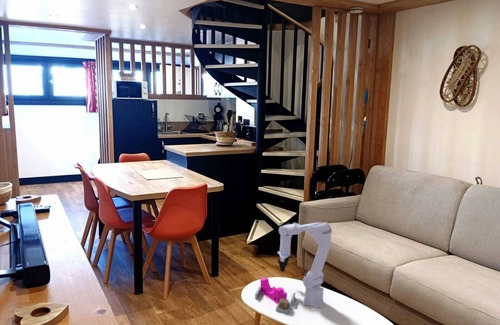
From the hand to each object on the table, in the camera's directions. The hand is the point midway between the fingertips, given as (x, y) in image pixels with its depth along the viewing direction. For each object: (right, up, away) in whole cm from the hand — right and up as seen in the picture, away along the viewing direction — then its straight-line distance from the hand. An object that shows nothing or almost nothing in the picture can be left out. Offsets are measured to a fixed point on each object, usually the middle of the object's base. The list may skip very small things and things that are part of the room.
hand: (283, 268), depth 222 cm
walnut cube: (-2, -14, -22) cm, 26 cm away
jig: (-7, -13, -16) cm, 22 cm away
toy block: (-7, -13, -9) cm, 17 cm away
